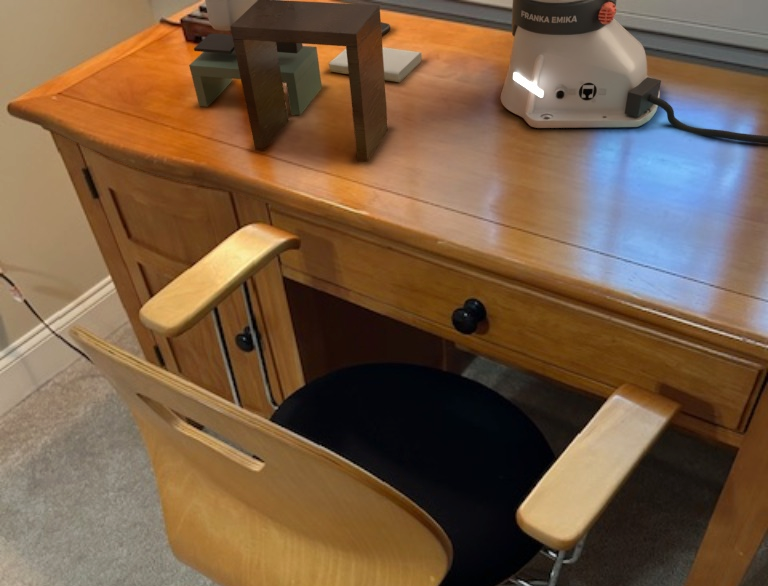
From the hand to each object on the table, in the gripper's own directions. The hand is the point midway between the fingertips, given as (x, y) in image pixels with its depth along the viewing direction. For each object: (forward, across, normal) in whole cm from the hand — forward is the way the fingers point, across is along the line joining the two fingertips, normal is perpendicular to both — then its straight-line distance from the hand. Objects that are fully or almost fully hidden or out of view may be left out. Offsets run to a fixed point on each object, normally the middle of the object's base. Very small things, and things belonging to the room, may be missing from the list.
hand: (258, 39), depth 116 cm
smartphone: (+8, +26, -3) cm, 27 cm away
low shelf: (+8, 0, +1) cm, 8 cm away
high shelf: (+8, -11, -13) cm, 19 cm away
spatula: (+1, 0, +2) cm, 2 cm away
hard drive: (+8, +13, -13) cm, 20 cm away
